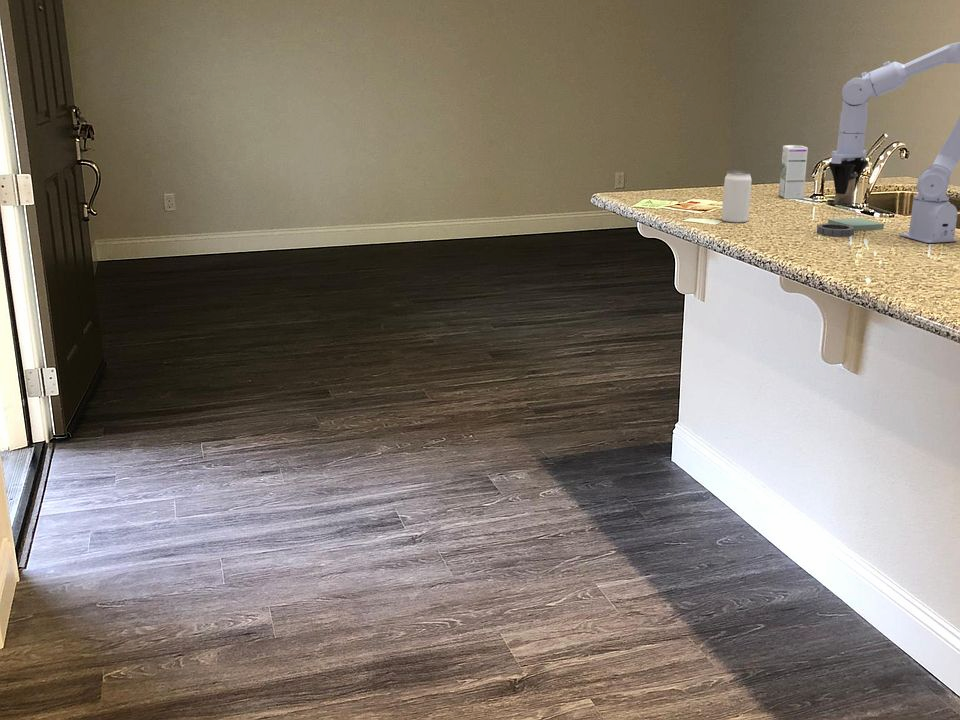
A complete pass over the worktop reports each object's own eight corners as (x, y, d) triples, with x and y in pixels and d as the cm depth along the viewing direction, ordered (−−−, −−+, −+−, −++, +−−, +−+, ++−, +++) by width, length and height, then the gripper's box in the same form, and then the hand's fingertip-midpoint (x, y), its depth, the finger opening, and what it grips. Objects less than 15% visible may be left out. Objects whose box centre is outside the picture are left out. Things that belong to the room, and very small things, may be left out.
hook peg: (856, 204, 227) (861, 171, 225) (848, 206, 224) (853, 173, 222) (837, 202, 230) (842, 169, 228) (829, 204, 227) (833, 171, 225)
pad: (883, 228, 232) (884, 223, 232) (851, 230, 230) (851, 225, 230) (859, 222, 241) (859, 217, 240) (827, 224, 238) (828, 219, 238)
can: (748, 223, 239) (753, 174, 235) (721, 222, 240) (725, 173, 236) (747, 219, 245) (751, 170, 241) (720, 218, 246) (724, 170, 242)
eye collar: (860, 235, 225) (861, 229, 224) (830, 237, 222) (831, 230, 222) (839, 229, 232) (839, 223, 231) (809, 231, 230) (810, 224, 229)
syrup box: (804, 199, 276) (809, 147, 271) (783, 199, 276) (788, 146, 271) (798, 196, 281) (803, 144, 276) (777, 196, 281) (782, 144, 276)
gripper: (848, 129, 230) (841, 187, 234) (821, 133, 220) (814, 194, 224) (878, 131, 225) (870, 190, 229) (851, 135, 215) (844, 197, 219)
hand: (845, 192), depth 226 cm, fingers closed on hook peg, 4 cm apart
